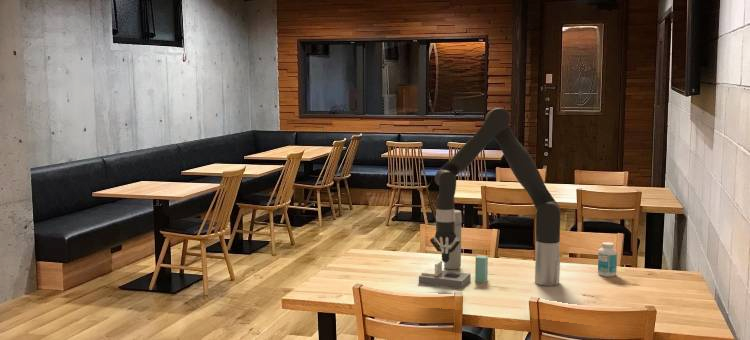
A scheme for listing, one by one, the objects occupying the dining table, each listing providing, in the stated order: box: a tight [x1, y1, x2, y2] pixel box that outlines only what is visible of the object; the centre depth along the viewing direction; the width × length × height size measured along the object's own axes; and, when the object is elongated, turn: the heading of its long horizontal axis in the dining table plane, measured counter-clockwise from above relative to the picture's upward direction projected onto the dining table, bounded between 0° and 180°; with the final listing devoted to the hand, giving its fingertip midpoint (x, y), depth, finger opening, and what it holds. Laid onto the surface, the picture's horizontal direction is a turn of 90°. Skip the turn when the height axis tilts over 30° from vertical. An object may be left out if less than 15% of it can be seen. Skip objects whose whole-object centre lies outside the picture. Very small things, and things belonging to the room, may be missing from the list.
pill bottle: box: [597, 241, 618, 278], centre depth 310 cm, size 8×7×14 cm
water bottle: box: [443, 209, 463, 271], centre depth 321 cm, size 9×8×25 cm
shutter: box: [421, 260, 443, 276], centre depth 302 cm, size 6×7×5 cm
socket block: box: [418, 270, 471, 290], centre depth 300 cm, size 18×12×3 cm, turn 67°
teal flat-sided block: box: [474, 254, 489, 283], centre depth 302 cm, size 4×4×10 cm
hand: (445, 261), depth 299 cm, fingers closed
